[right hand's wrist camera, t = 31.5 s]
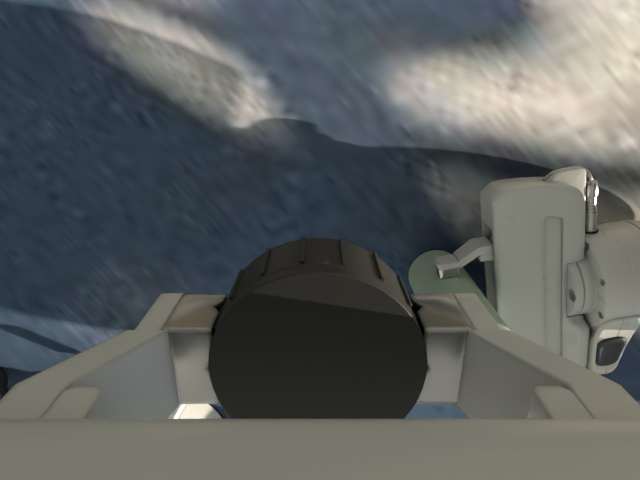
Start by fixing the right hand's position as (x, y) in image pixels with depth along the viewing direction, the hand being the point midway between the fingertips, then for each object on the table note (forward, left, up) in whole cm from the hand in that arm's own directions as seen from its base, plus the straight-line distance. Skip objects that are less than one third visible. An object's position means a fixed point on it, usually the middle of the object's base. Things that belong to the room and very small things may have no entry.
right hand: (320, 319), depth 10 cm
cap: (0, 0, +2) cm, 2 cm away
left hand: (+13, -12, -26) cm, 32 cm away
